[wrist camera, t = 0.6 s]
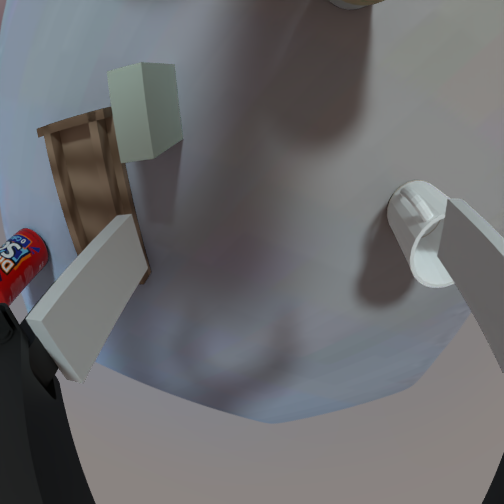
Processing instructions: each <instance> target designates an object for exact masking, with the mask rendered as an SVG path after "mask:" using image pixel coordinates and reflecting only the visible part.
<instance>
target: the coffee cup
mask: <svg viewBox="0 0 504 504" xmlns="http://www.w3.org/2000/svg"><path fill="white" fill-rule="evenodd" d="M329 1H330V2H331V3H332V4H334V5H335V6H337V7H339V8H343V9H349V10H352V9H359V8H362V7H365V6H367V5H372V4H376V3H379V2H382V1H384V0H329Z"/></svg>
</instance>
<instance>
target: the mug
mask: <svg viewBox="0 0 504 504" xmlns="http://www.w3.org/2000/svg"><path fill="white" fill-rule="evenodd" d="M447 199H450V198H449V197H448V196H447V195H445V194H444V193H443V192H441V191H440V190H439V189H437V188H436V187H435V186H433V185H432V184H430V183H429V182H426V181H422V180H414V181H410V182H407V183H405V184H404V185H402V186H400V187H399V188H398V189H397V190H396V191H395V192H394V194H393V195H392V197H391V198H390V200H389V204H388V207H387V219H388V223H389V225H390V227H391V229H392V231H393V233H394V235H395V237H396V239H397V241H398V243H399V245H400V247H401V249H402V252H403V254H404V256H405V258H406V260H407V262H408V265H409V267H410V269H411V271H412V273H413V275H414V277H415V278H416V279H417V280H418V281H419V282H420V283H421V284H423V285H425V286H427V287H433V288H440V287H446V286H449V285H452V284H454V281H453V280H452V278H451V277H450V275H449V274H448V272H447V270H446V269H445V267H444V266H443V264H442V263H441V261H440V260H439V258H438V257H437V254H438V249H439V245H440V240H441V235H442V229H443V224H444V218H445V212H446V206H447Z"/></svg>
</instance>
